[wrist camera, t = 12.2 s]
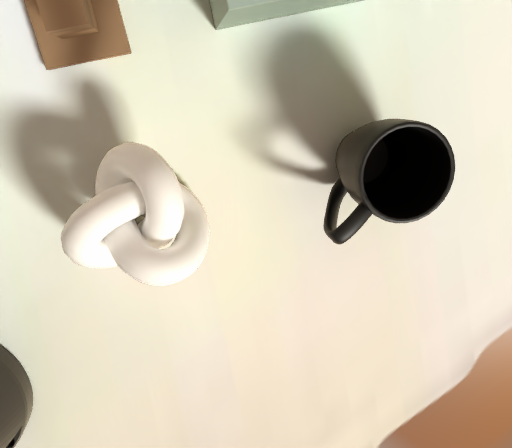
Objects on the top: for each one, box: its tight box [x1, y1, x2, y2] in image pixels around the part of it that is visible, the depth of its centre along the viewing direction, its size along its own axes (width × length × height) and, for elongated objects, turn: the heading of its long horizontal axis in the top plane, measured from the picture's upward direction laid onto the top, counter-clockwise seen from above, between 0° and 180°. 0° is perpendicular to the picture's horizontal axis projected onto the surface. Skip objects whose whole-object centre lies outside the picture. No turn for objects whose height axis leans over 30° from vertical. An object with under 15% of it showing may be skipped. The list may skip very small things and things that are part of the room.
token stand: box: [24, 0, 131, 70], centre depth 36 cm, size 7×7×6 cm
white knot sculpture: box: [61, 142, 210, 286], centre depth 39 cm, size 11×12×9 cm
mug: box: [324, 119, 455, 244], centre depth 42 cm, size 8×12×10 cm
